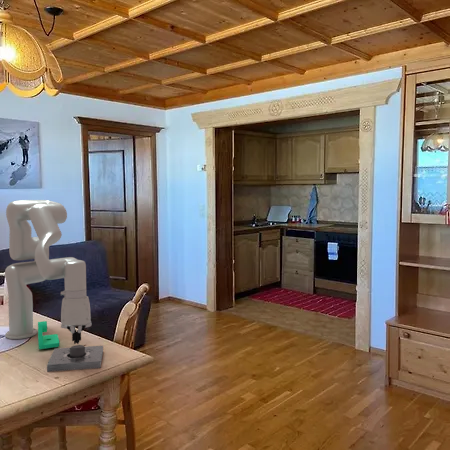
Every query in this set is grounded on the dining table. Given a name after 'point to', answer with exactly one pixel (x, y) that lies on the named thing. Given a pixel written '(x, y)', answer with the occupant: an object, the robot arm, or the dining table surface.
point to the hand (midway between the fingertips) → (76, 342)
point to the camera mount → (46, 337)
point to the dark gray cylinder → (77, 351)
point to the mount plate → (75, 359)
